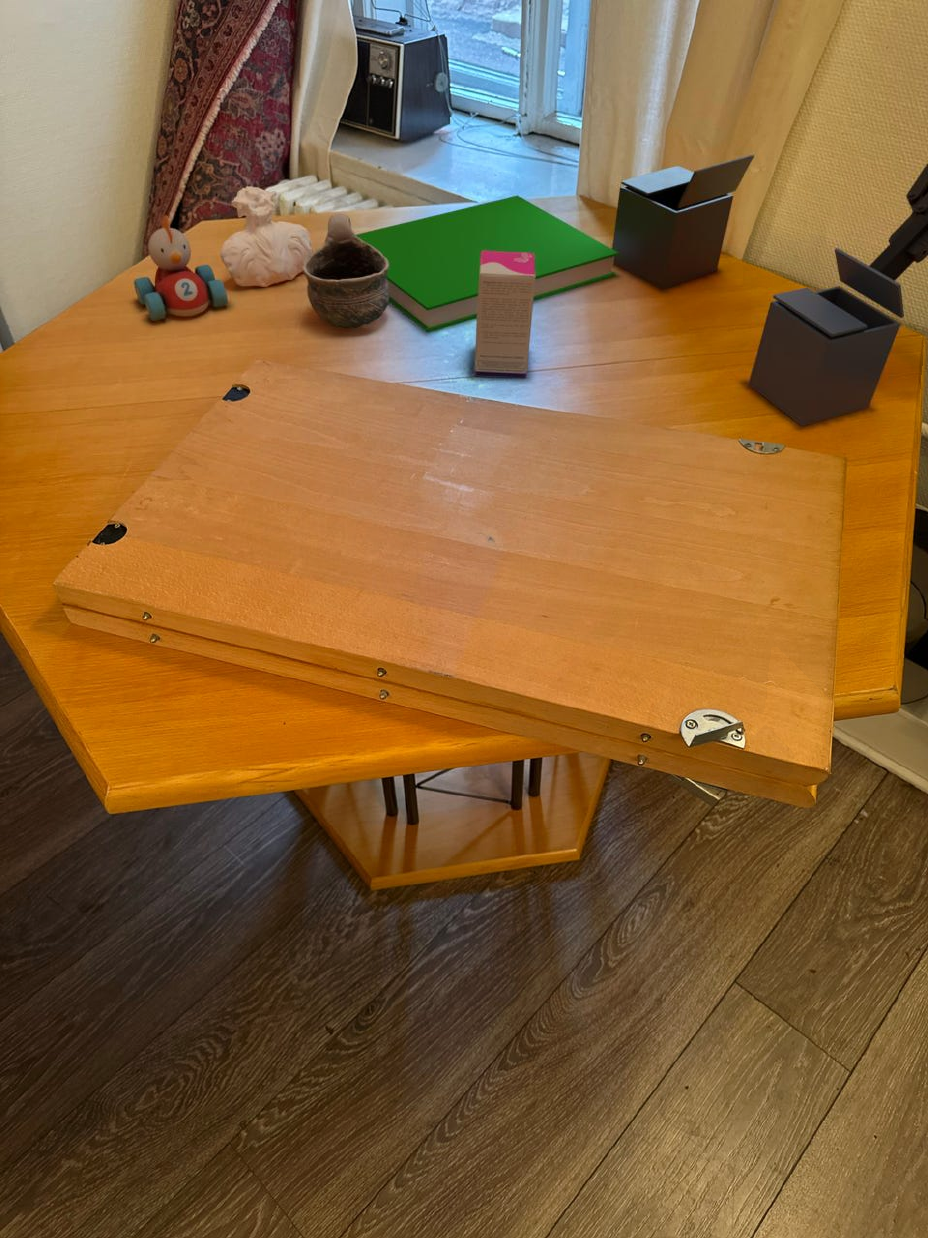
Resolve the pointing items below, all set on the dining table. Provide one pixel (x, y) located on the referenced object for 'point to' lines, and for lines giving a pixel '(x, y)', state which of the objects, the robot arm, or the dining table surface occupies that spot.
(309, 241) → the bust
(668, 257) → the back carton
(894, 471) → the dining table surface
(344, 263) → the mug
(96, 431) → the dining table surface
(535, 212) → the book
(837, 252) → the front flap
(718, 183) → the back flap
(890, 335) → the front carton
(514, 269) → the supplement box
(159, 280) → the toy car
